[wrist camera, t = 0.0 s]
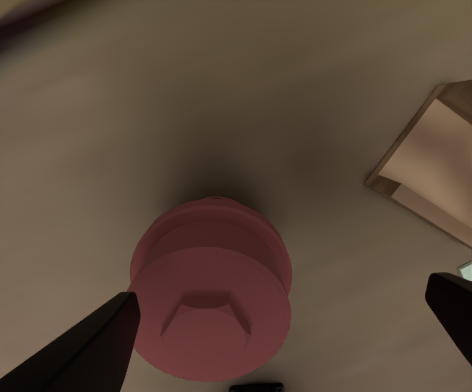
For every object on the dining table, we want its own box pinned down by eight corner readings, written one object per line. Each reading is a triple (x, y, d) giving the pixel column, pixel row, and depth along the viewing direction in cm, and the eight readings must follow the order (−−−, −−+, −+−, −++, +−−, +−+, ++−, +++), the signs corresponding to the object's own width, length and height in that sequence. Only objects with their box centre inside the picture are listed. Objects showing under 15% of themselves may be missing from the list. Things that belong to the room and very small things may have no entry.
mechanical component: (142, 207, 22) (239, 153, 21) (199, 287, 25) (288, 244, 24) (41, 308, 10) (252, 198, 9) (172, 440, 13) (347, 370, 12)
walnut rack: (458, 242, 24) (499, 264, 20) (364, 183, 22) (390, 196, 18) (536, 159, 22) (597, 167, 18) (438, 85, 19) (485, 77, 16)
